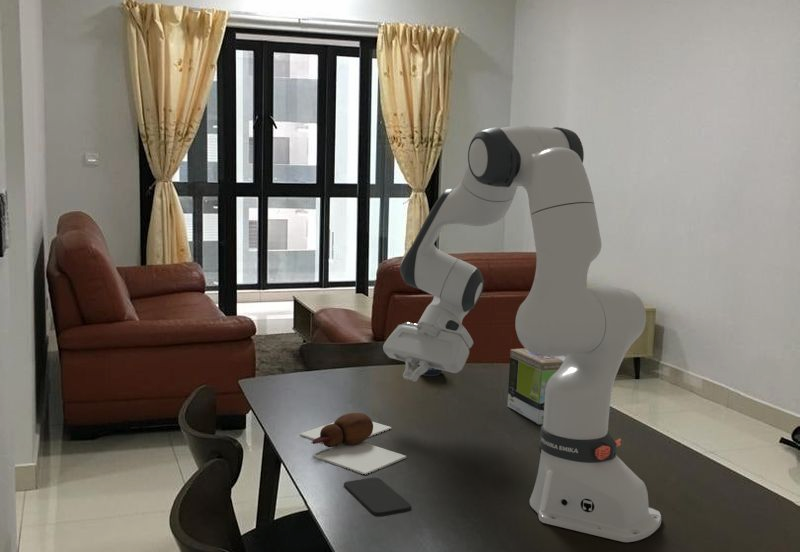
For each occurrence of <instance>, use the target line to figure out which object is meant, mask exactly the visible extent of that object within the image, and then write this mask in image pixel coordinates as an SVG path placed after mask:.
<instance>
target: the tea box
mask: <svg viewBox="0 0 800 552" xmlns="http://www.w3.org/2000/svg"><path fill="white" fill-rule="evenodd" d="M565 358H566V356H558V357H556V356H545V355H538V354H533V353H531V352H529V351H528V350H526V349H525V348H524V347H523V348H511V349H510V355H509V373H508V390H507V392H508V393H507V407H508V408H510V409H512V410H514V411H515V412H517V413H518V414H520V415H522V416H524V417H525V418H527V419H529V420H530V421H532V422H534V423H535V424H537V425H543V422H544V404H545V388H546V385H547V382H548V380H549V379H550V378H551V376H552V375H553V374H554V373H555V372H556V371H557V370H558V369H559V368H560V367H561V365H562V363H563V362H564V360H565Z"/></svg>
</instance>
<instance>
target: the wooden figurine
mask: <svg viewBox="0 0 800 552" xmlns="http://www.w3.org/2000/svg"><path fill="white" fill-rule="evenodd" d="M373 422H374V421H372V419H371V417H370V416H369V415H367V414H366V413H362V412H348V413H346V414H342V415H341V416H339V417H338V418H336V420H334V424H330V423H329V424H330V425H327V424H325V425H326V426H325V427H323V428H322V430H321V432H320V437H318V438H316V439H314V440H312V441H311V442H310V443H311V444H313V445H315V444H320V443H321V442H322V443H321V444H323V445H324V446H325V447H326V448H336V446H339V445H340V444H341V443H344V444H346V445H356V444H359V443H362V442H365V441H366V440H367V439H368V438H370V437H369V436H370V435H371V434H372V431H373Z"/></svg>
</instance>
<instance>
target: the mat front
mask: <svg viewBox="0 0 800 552" xmlns="http://www.w3.org/2000/svg"><path fill="white" fill-rule="evenodd" d="M334 422H335V421H334ZM334 422H331V423H328V424H324V425H321V426H319V427H316V428H313V429H310V430H307V431H304V432H301V433H299V436H301V437H303V438H306V439H309V440H312V441H314V439H316V438H318V437H320V432H321V430H322V428H323V427H325V426H326V425H330V424H334ZM372 422H373V431H372V434H371V435H370V436H369V437H368V438H371V437H374V436H376V434H377V435H380V434H382V433H384V431H385V432H387V431H390V430H392V427H391V426H388V425H385V424H382V423H378V422H375V421H372ZM389 429H390V430H389ZM381 432H382V433H381ZM373 435H374V436H373ZM320 443H321V444H323V443H322V442H320ZM342 445H345V444H344V443H341V444H340V445H339V446H342ZM339 446H336V447H335V448H337V447H339Z"/></svg>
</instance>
